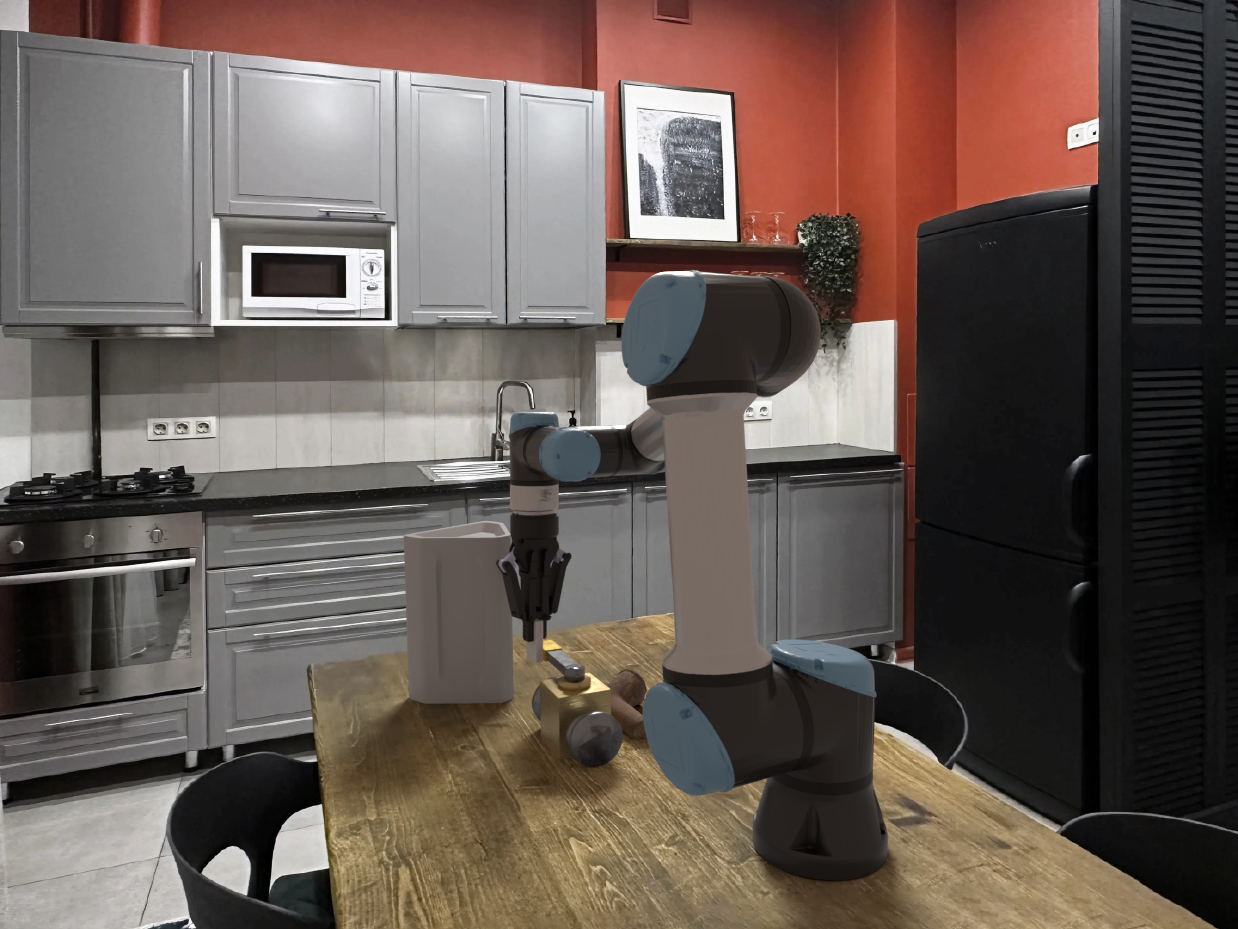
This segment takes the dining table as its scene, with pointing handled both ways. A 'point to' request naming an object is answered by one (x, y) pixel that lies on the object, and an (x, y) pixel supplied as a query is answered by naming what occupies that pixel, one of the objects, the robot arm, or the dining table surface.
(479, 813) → the dining table surface
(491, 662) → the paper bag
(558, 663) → the lever
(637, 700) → the pipe
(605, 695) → the valve body
